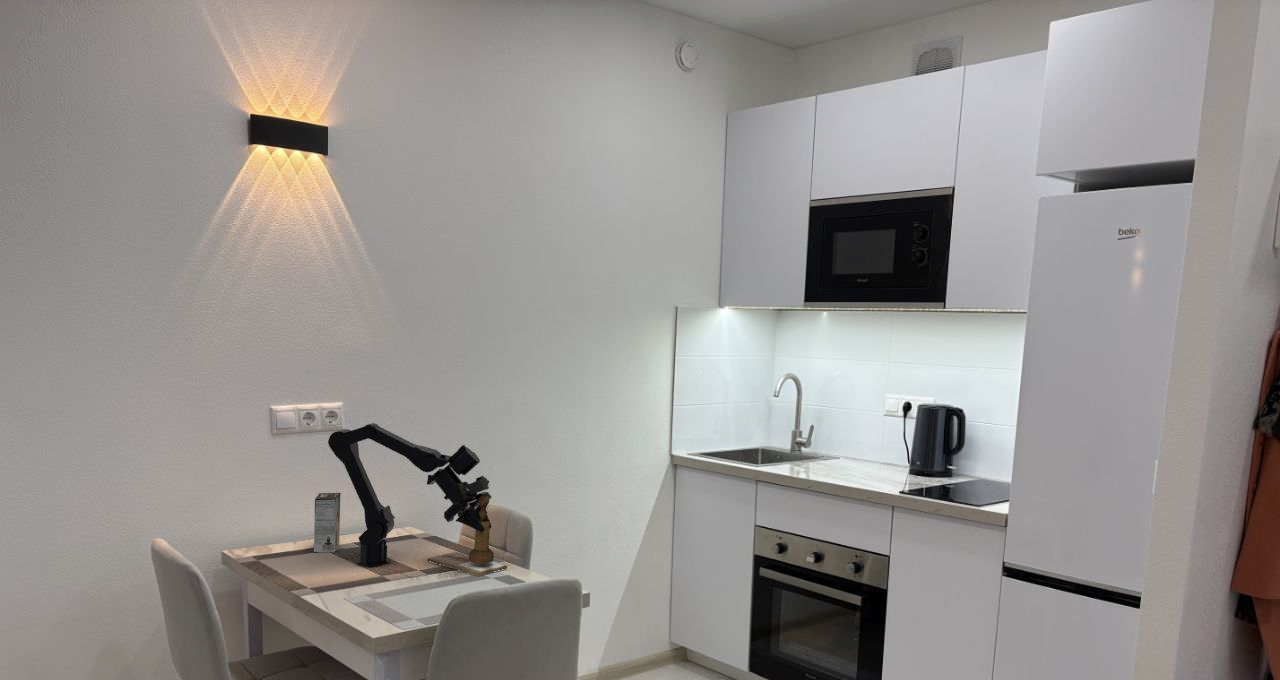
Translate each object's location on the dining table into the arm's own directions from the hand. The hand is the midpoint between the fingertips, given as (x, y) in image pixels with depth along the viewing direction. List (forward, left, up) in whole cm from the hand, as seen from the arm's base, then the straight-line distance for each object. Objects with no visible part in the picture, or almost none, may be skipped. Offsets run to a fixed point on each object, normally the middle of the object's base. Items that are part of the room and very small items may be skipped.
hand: (486, 529), depth 236 cm
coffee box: (-18, +51, -11) cm, 55 cm away
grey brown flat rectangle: (-1, +7, -11) cm, 13 cm away
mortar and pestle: (-1, +1, -9) cm, 9 cm away
